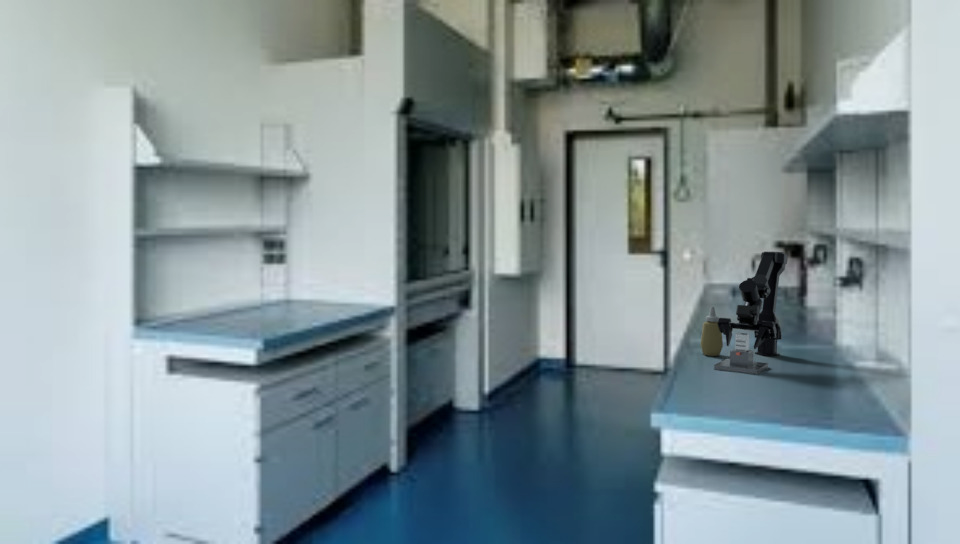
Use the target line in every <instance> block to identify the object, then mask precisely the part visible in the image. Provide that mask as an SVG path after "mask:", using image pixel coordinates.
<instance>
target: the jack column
mask: <svg viewBox="0 0 960 544" xmlns="http://www.w3.org/2000/svg"><path fill="white" fill-rule="evenodd" d="M734 341H735V342H734V349H735V351H737V352H746V353H747V352H749V350H750V333H744V332H738V333H735V339H734Z"/></svg>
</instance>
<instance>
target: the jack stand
mask: <svg viewBox="0 0 960 544" xmlns="http://www.w3.org/2000/svg"><path fill="white" fill-rule="evenodd" d="M729 352H730V353H729V358H726V359H724V360H721V361H719V362H717V363H715V364H714V365H713V369H714V370H716V369H717V370H718V371H725V372H726V371H727V372H734V373H741V374H743V373H744V374H750V375H758V374H760V373H762V372H763V371H765V370H767V369H768V368H769V363H768V362H767V363H766V362H759V361H754V350H751V349H749V352H747V353H746V352H737V351H735V348H734V349H732V350H730V351H729Z"/></svg>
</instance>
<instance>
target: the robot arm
mask: <svg viewBox="0 0 960 544" xmlns="http://www.w3.org/2000/svg"><path fill="white" fill-rule="evenodd" d="M788 258H789V257H788V255H787V254H786V253H785V252H784V251H762V252H761V255H760V262H759V264H758V267H757V269H756V272H755V275H754V276H752V277H747V278H746V279H745V280H743V281H741V282H740V283H739V285H738V289H739V292H740V296H741V299H742V301H743V302H744V303H743V304H737V305H736V311H735V315H736V316H737V318H736V319H737V321H738V322H735V321H732V319H731V318H730V317H719V319H718V321H717V324H718V327H719V330H720V332H721V333H722V335H724V336H725V340H726V341H725V342H726V347H729V346H730V344H731V340H732V338H733V333H732V332H733V330H734V329H736V330H737V329H738V330H743V331H751V332H754V338H755V341H754V345H753V350H756V349H757V351H754V354H756V355H760V356H765V357H772V356H773V357H774V356H780V355H781V353H780V352H779V353H778V352H777V350H778V348H777V347H778V341H779V340H783V339H782V338H783V336H782V329H781V325H780V323H779V322H780V321H779V318H778V316H777V315H776V310H777V308H776V307H777V300H778V299H777V298H778V290H779V283H780V282H779V281H780V276H781V274H783V273H784V271H785V270H786V266H787V264H788V262H789V261H788ZM762 299H763V300H762Z"/></svg>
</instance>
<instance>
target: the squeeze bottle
mask: <svg viewBox="0 0 960 544" xmlns="http://www.w3.org/2000/svg"><path fill="white" fill-rule="evenodd" d="M719 318H720V317H719V316H717V315H716V309H715V306H711V307H710V310H709V313H708V315H707V316H705V321H704V322H702V329H701V330H702V331H701V336H700V344H699V345H700V348H701V351H702V354H703V355H704V356H709V357H717V356H720V354H721V351H722V349H723V347H724V345H723V333H721V332H720V330H719V327H718V324H717V321H718V319H719Z"/></svg>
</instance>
